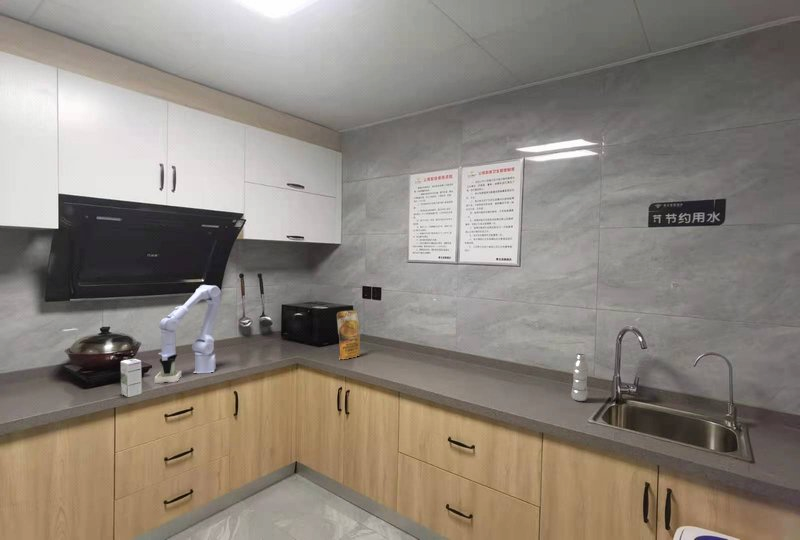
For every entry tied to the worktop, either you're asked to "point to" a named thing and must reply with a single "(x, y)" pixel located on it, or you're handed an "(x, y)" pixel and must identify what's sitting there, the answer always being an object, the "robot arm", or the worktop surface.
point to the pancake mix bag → (348, 334)
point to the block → (170, 370)
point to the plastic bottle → (580, 378)
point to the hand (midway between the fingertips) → (168, 371)
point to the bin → (167, 377)
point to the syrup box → (131, 377)
